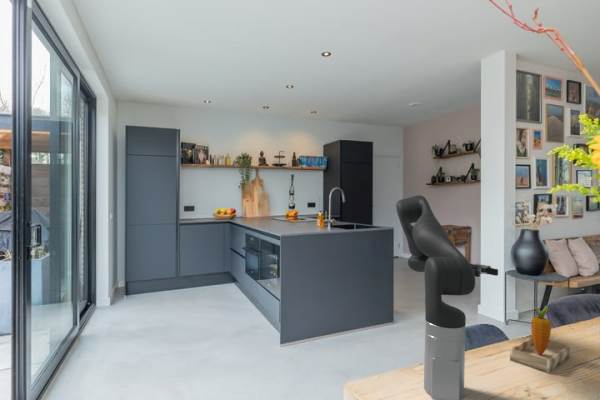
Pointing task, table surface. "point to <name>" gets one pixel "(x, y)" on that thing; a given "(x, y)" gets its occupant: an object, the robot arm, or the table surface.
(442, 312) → the robot arm
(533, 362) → the oak tray
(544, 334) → the carrot
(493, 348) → the table surface
